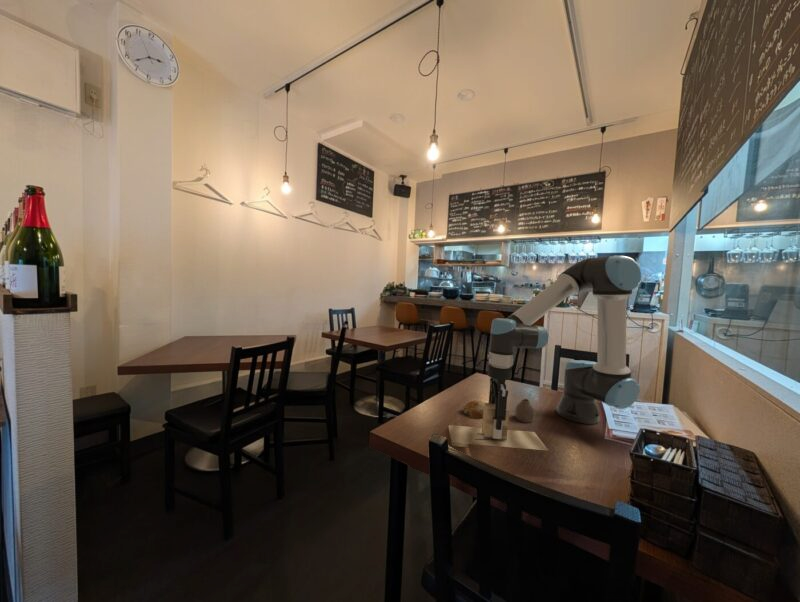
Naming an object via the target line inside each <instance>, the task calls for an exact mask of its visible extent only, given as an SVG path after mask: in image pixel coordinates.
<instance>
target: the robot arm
mask: <svg viewBox="0 0 800 602" xmlns="http://www.w3.org/2000/svg"><path fill="white" fill-rule="evenodd" d="M641 279H642V272H641V268H640V266H639V263H638V262H637V261H635V259H634V258H632V257H630V256H626V255H612V256H601V257H599V256H597V257H587V258H585V259H581V260H580V261H578V262H576V263H574V264H573V265H571V266H570V267H568V268H566V269H565V270H564V271H563V272H561V273H560V274H559V275H557V277H556V280H555V281H554V282H552V283H551V284H550V285H548V286H547V287H546V288H545V289H543V290H541V292H539V293H537V294H536V295H535V296H534V297H533V298H531V299H530V300H528V301H527V302H526V303H524V304H523V305H522V306H521V307H519V308H518V309H516V311H514V312H513V313H511V314H510V315H509V316H507V317H506V318H503V317H502V318H497V317H496V318H494V319H492V322H491V327H490V336H489V337H490V340H489V351H488V352H489V354H487V358H488V366H487V376H488V377H489V395H488V403H494V404H495V417H493V419H494V423H493V436H492V437H493V438H496V439H501V437H502V425H503V421H505V419H506V407H507V402H508V395H509V390H508V389H507V384H506V381H509V380H511V379H512V374H513V373H512V372H513V368H512V367H513V364H514V351H515V349H535V350H536V349H541V348H544V347H546V346H547V345H548V344H549V333H548V330H547V329H546V327H544V326H542V325H541V326H540V325H534V324H535V323H536V322H537V321H538V320H539V319H542V317H544V316H545V315H546V314H548V313H549V312H550V311H551V310H553V309H554V308H556V307H557V306H558V305H559V304H561V303H562V302H563V301H564V300H566V299H567V298H568V297H570V296H571V295H576V294H578V293H579V292H580V291H583V290H587V289H592V295H593V297H595V298H596V299H597V350H596V351H597V354H596V355H597V362H596V361H591V360H579V359H577V360H574V359H572V360H568V361H567V362H566V363H565V369H564V381H563V393H562V396H561V398H560V400H559V403H558V404H557V407H556V412H557V414H558V415H559V416H561V417H562V418H564V419H566V420H568V421H571V422H575V423H579V424H584V425H585V424H587V425H593V424H594V425H595V424H598V423H600V413H599V408H598V406H597V405H598V404H597V402H596V401H598V402H602V403H603V404H605V405H607V406H609V407H613V408H614V409H617V410H618V409H619V410H620V409H621V410H623V409H624V410H625V409H628V408H630V407H631V406H632V405H634V403H635V402H636V401H637V400H638V398H639V396H640V391H641V389H640V384H639V382H638V381H637V380H636V379H634V378H632V370H631V369H630V368H629V367H628V366H627V299H628V298H630V297H631V296H632V295H633V290H635V289H636V288H638V287H639V283H641V281H642V280H641Z"/></svg>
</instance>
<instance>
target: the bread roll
mask: <svg viewBox="0 0 800 602" xmlns="http://www.w3.org/2000/svg"><path fill="white" fill-rule="evenodd" d="M484 403H485V402H483V401H482V400H477V399H476V400H474V399H473V400H471V401H469V402H467V403H466V404H465V405H464V406H463V407H462V409H463V410H462V413H463V414H464V415H465V414H466V415H467V416H469V417H471V418H473V419H479V420H480V419H481V420H483V411H484Z"/></svg>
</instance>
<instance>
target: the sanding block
mask: <svg viewBox="0 0 800 602" xmlns="http://www.w3.org/2000/svg"><path fill="white" fill-rule="evenodd" d="M483 403H484V411H483V419H482V426H481V428H482V433H483V435H484V437H485V438H487V439H496V438H493V437H492V436H493V423H494V419H493V417H495V404H494V403H489V402H483ZM509 417H510V410H509V408H508V407H507V406H506V419H505V421H503V425H502V437H501V439H498V440H507V430H509V428H508V427H509V419H510V418H509Z"/></svg>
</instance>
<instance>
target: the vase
mask: <svg viewBox="0 0 800 602" xmlns="http://www.w3.org/2000/svg"><path fill="white" fill-rule="evenodd" d="M514 414H515V418H516V420H518V421H519V422H522V423H528V424H529V423H533V422H534V419H535V409H534V407H533V406H532V404H531V402H530V399H527V398H523V399H522V400H521V401H520V402H519V403H518V404H517V405H516V407H515V410H514Z"/></svg>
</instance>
